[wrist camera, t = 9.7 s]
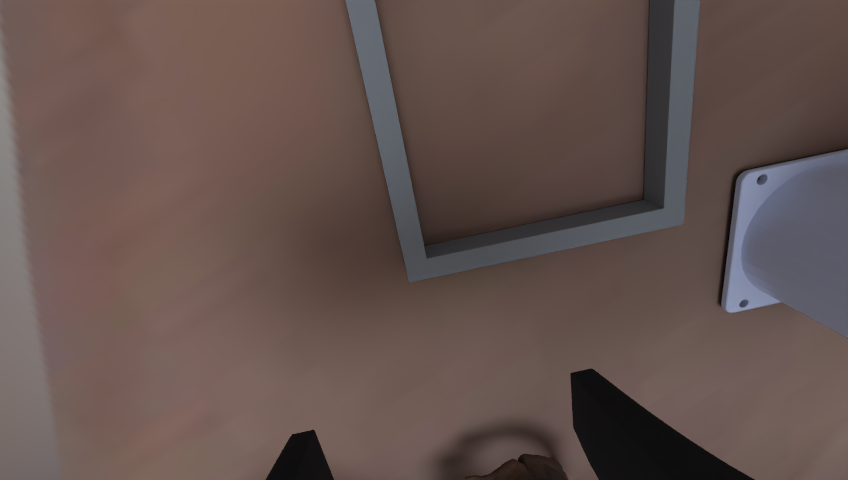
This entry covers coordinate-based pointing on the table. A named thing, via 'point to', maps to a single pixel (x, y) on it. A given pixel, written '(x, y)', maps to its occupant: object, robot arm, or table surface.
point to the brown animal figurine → (526, 470)
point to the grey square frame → (659, 210)
